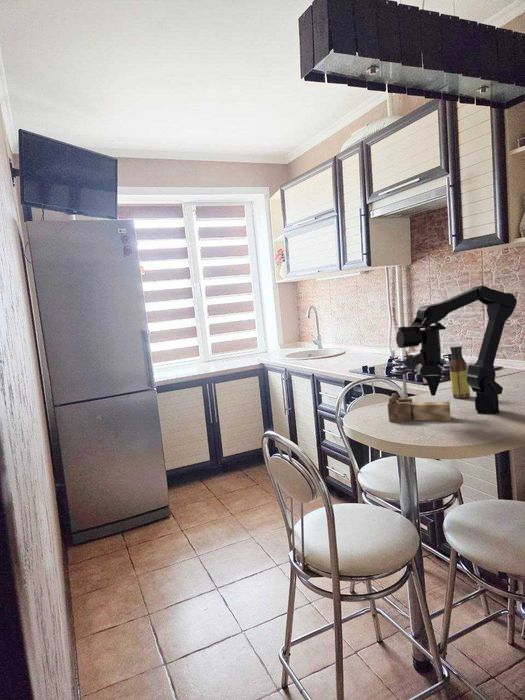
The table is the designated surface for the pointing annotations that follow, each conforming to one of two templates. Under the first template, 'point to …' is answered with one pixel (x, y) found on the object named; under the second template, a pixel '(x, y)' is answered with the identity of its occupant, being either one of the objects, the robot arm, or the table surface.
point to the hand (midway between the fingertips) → (433, 392)
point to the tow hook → (404, 387)
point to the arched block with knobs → (399, 408)
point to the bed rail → (430, 410)
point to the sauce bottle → (458, 373)
